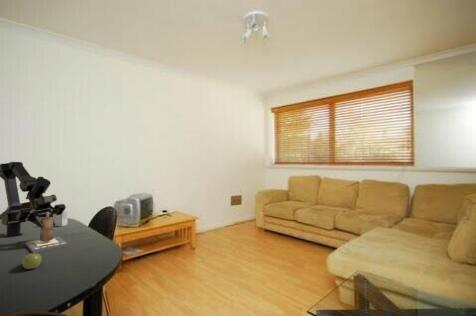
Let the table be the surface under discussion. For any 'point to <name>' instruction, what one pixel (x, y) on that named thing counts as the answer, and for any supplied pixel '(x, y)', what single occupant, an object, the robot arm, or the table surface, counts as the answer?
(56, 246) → the grey flat block
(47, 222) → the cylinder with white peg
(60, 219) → the medicine box
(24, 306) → the table surface
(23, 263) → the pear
